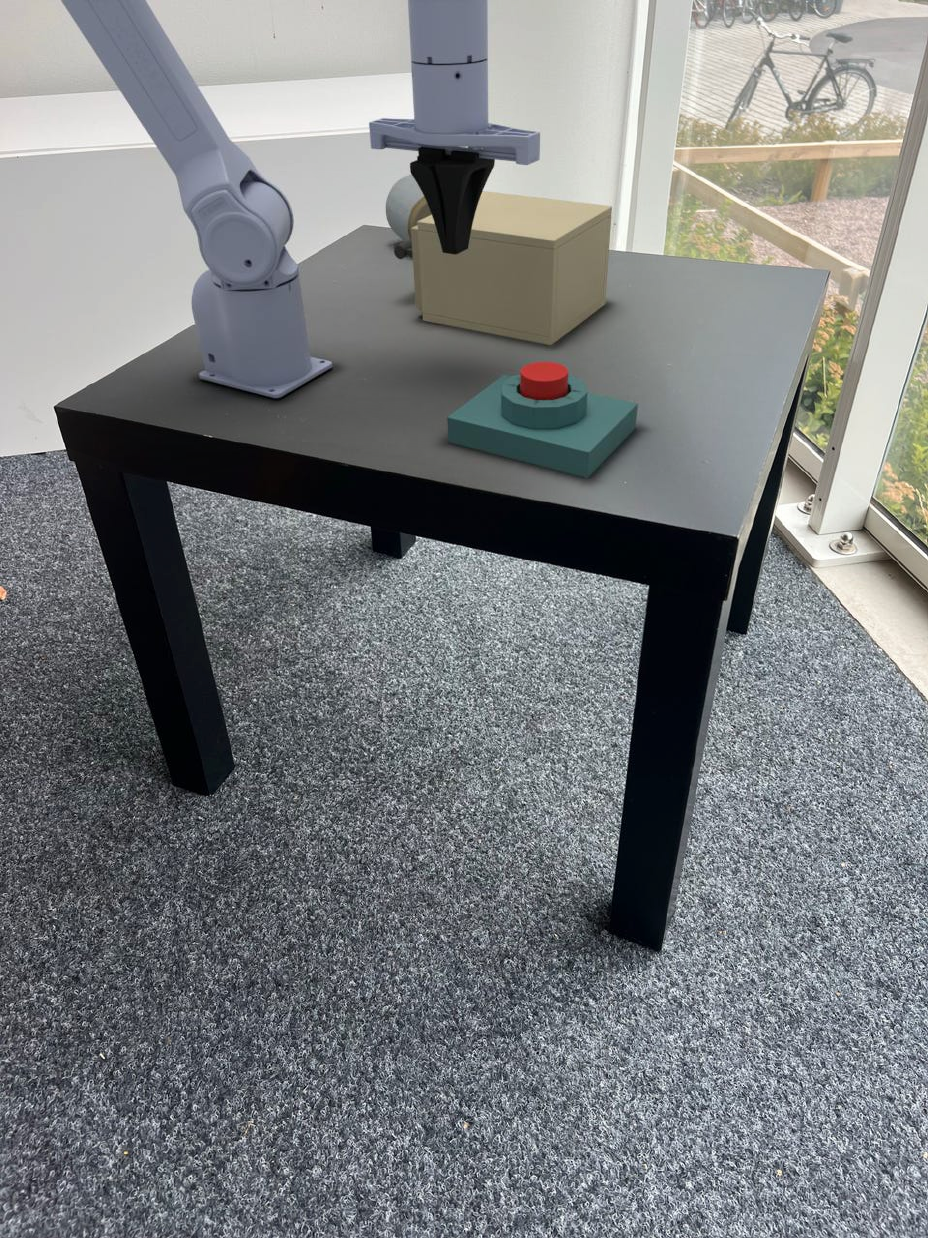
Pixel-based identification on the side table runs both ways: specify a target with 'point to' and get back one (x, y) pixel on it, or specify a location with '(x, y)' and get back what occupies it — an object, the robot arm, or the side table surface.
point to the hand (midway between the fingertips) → (455, 250)
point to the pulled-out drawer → (412, 249)
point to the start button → (544, 381)
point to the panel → (544, 426)
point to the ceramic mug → (405, 206)
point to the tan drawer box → (519, 268)
